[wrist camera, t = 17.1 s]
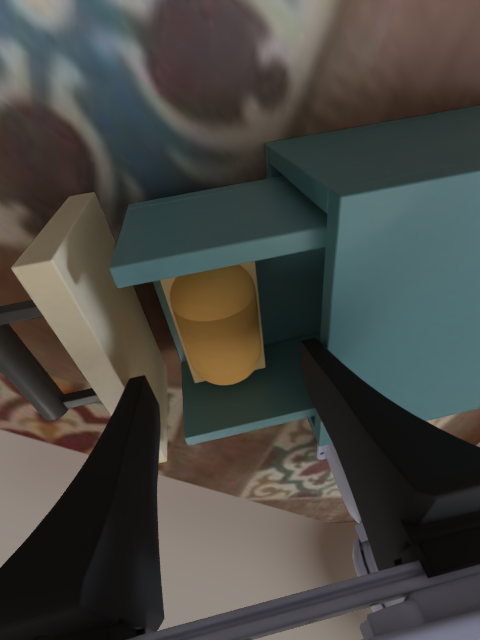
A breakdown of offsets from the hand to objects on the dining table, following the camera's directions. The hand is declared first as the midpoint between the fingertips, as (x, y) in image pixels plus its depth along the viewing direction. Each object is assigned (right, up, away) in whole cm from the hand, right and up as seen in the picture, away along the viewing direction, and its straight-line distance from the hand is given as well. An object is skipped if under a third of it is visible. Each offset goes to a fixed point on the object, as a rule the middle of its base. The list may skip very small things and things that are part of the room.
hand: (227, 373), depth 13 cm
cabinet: (+10, +7, +7) cm, 14 cm away
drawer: (-2, +4, +5) cm, 7 cm away
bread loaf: (-1, +4, +5) cm, 6 cm away
